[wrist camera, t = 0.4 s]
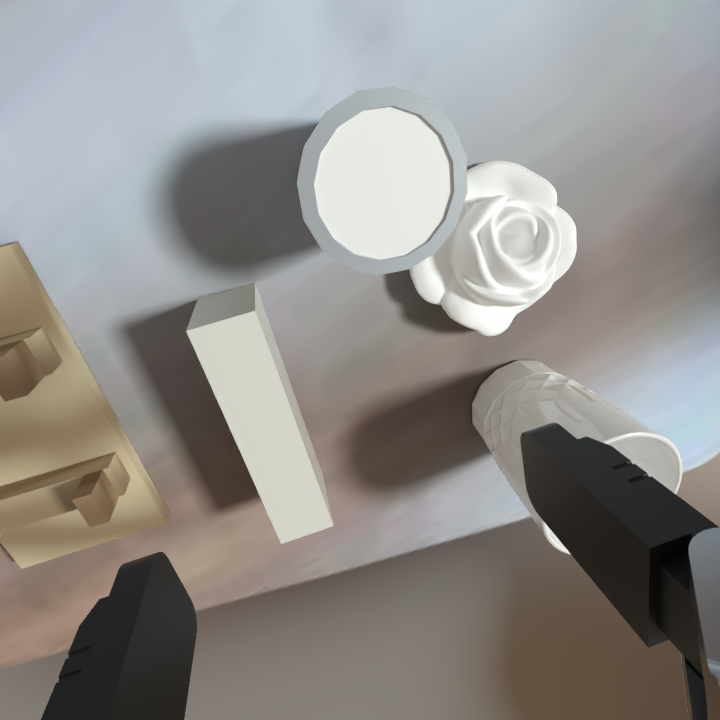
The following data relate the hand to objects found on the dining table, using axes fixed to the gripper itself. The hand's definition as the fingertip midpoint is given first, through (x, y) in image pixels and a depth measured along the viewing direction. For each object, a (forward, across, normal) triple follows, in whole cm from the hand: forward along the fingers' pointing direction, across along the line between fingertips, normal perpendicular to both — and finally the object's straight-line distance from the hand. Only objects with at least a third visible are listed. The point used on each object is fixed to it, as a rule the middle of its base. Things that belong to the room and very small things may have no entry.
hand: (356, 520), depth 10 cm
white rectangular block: (+18, +3, +5) cm, 19 cm away
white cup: (+19, -13, +11) cm, 25 cm away
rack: (+18, +16, +2) cm, 24 cm away
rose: (+18, -12, 0) cm, 22 cm away
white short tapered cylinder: (+18, -5, -6) cm, 19 cm away
